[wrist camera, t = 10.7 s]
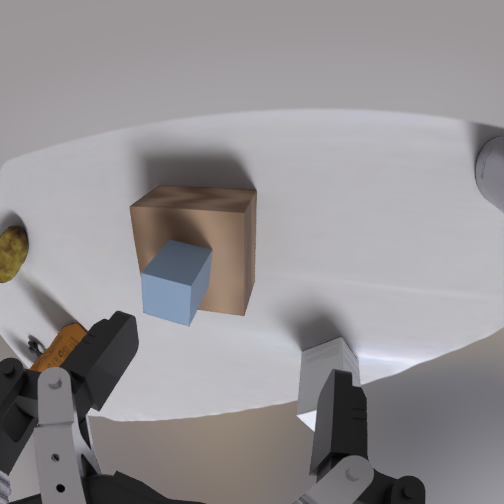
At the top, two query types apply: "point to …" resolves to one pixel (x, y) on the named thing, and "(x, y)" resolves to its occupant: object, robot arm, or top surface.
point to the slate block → (176, 281)
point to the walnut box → (203, 236)
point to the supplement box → (322, 374)
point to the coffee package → (60, 347)
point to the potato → (12, 252)
